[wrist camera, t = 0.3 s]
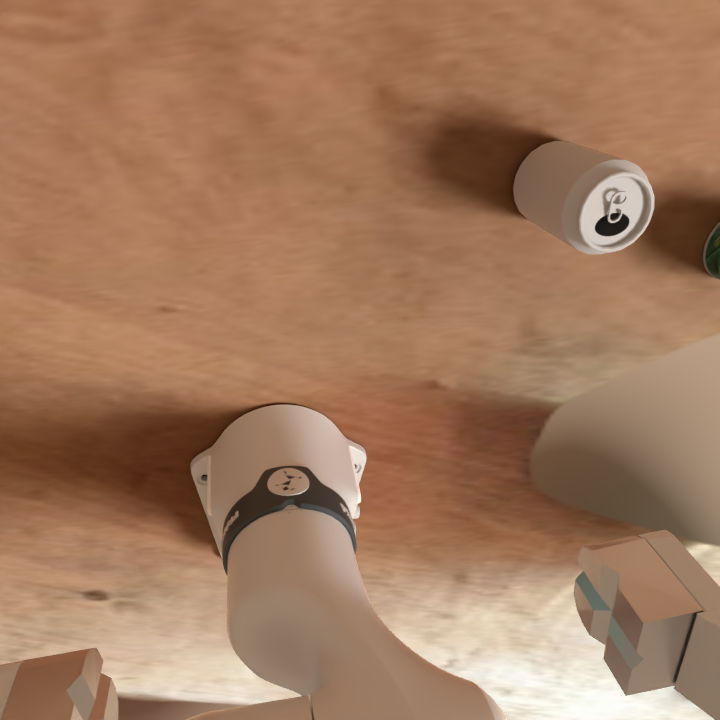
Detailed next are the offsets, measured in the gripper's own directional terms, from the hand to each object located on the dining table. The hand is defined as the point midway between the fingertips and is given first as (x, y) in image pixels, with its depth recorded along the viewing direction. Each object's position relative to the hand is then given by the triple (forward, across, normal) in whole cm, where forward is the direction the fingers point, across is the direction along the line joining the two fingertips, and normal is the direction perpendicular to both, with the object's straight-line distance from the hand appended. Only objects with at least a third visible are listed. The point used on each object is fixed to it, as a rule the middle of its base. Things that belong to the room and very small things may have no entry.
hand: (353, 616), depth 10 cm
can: (+46, +26, -6) cm, 54 cm away
